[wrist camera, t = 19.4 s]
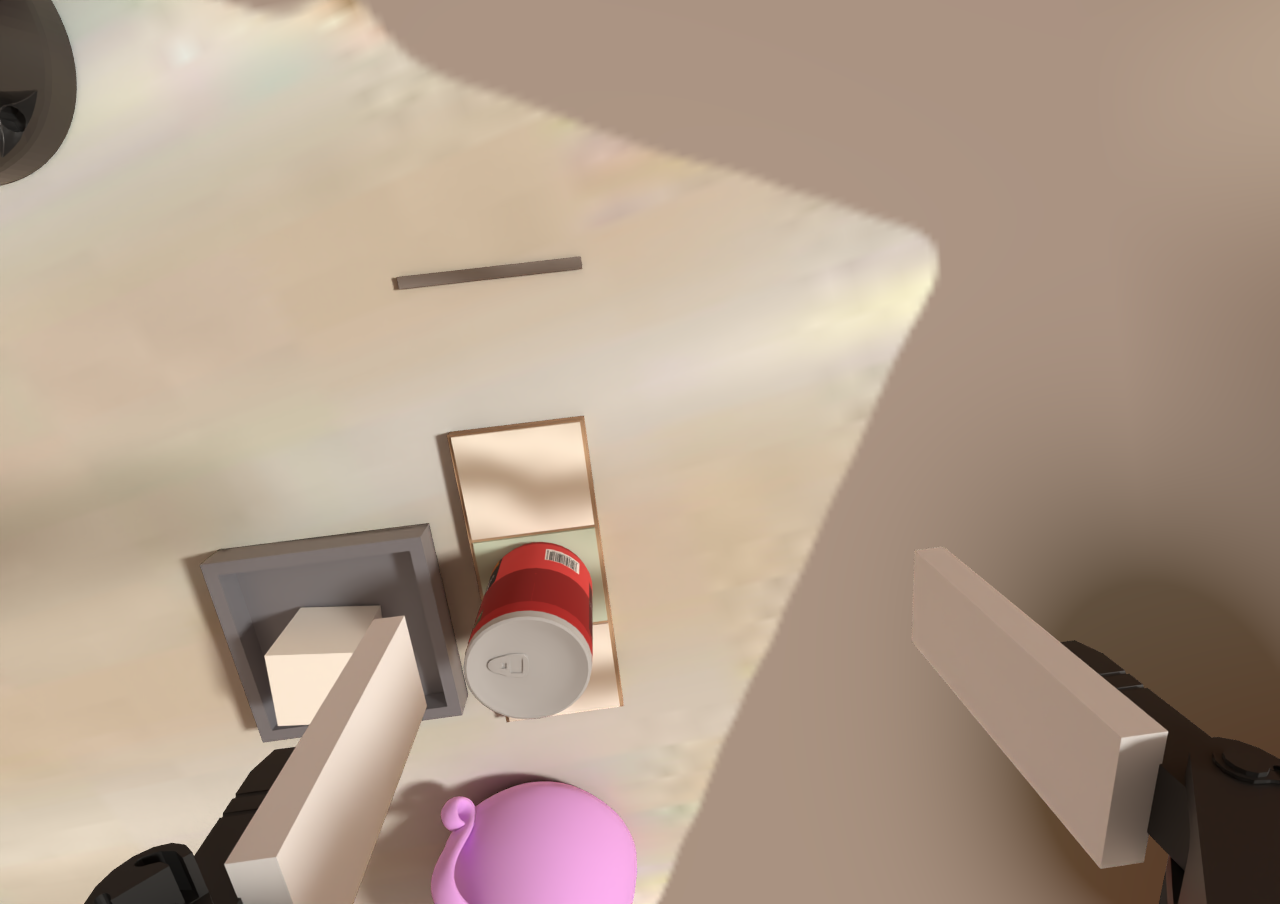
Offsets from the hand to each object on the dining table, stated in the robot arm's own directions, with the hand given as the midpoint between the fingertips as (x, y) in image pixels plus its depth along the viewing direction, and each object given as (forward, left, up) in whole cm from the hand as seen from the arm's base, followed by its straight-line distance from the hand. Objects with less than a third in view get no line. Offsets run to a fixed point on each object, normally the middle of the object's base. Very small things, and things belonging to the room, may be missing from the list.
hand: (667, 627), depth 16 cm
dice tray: (+17, -24, -32) cm, 43 cm away
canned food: (+15, -8, -31) cm, 35 cm away
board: (+9, -8, -32) cm, 34 cm away
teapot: (+43, -14, -32) cm, 55 cm away
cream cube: (+15, -24, -28) cm, 39 cm away
